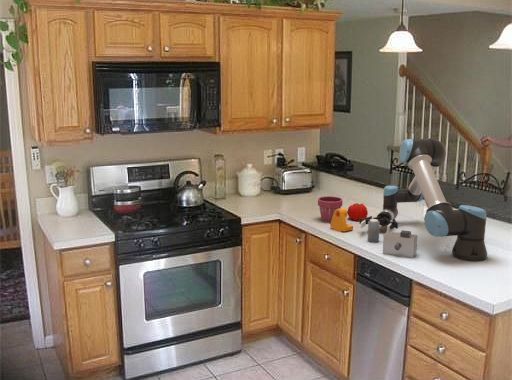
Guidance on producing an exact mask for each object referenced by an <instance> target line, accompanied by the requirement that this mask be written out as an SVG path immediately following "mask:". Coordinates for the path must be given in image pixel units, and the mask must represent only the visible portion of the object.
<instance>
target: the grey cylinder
mask: <svg viewBox="0 0 512 380" xmlns="http://www.w3.org/2000/svg"><path fill="white" fill-rule="evenodd" d="M380 226H381V225H380V222H379V221H378V220H377V219H370V221H368V224H367V242H368V243H379V242H380Z"/></svg>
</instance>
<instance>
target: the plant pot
mask: <svg viewBox="0 0 512 380" xmlns="http://www.w3.org/2000/svg"><path fill="white" fill-rule="evenodd" d="M317 206H318V207H319V212H320V217H321V220H322V222H324V223H325V222H326V223H331V220H332V217H333V214H334V211H335V210H336V209H340V208H342V207H343V198H341V197H339V196H330V195H327V196H320V197H318V198H317Z"/></svg>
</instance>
